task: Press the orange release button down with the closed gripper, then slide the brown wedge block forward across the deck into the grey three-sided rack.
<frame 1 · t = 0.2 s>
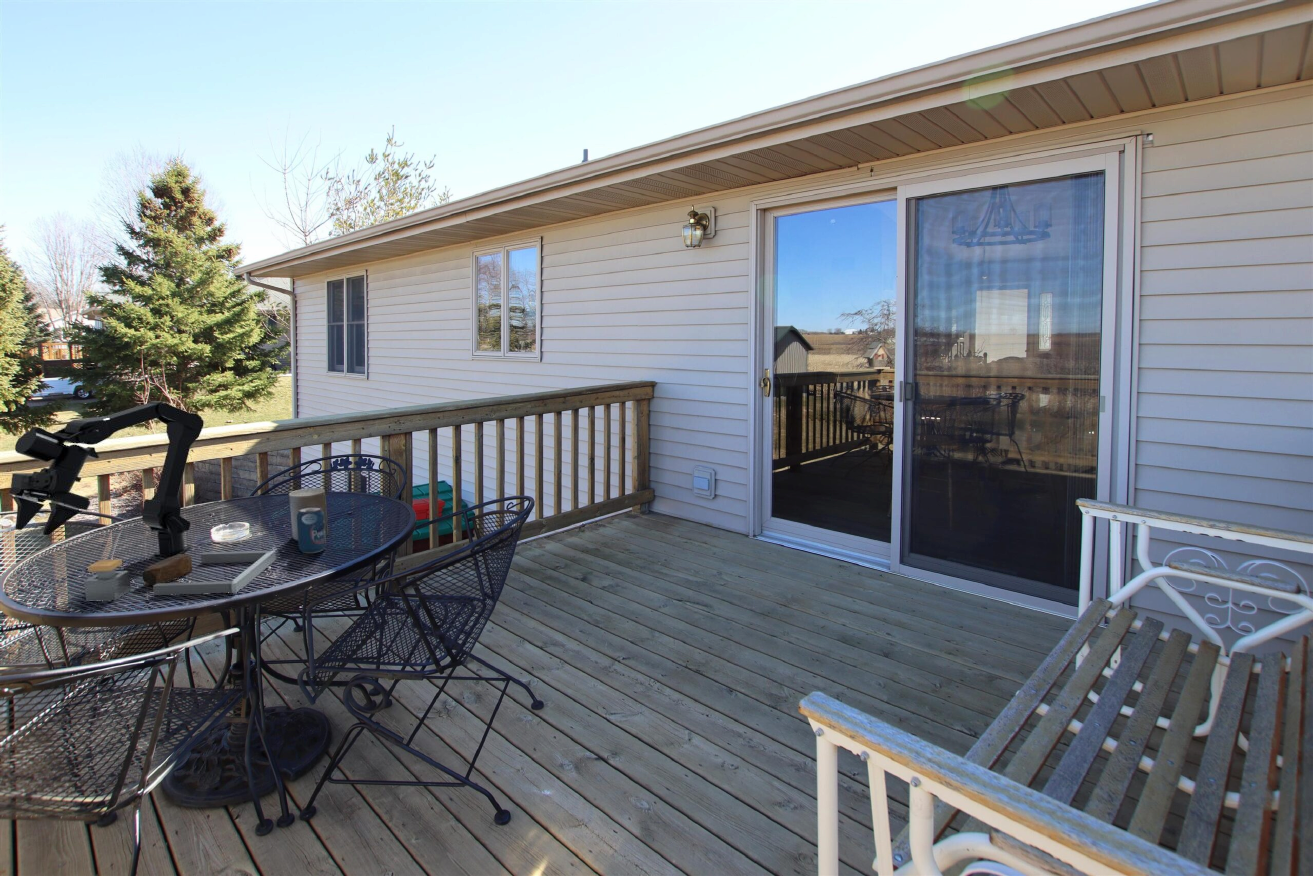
hand: (31, 532, 160), 15 cm above the table, tool tilted 30°, fingers open, 9 cm apart
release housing: (109, 596, 162), on the table
pillar candle: (310, 536, 208), on the table
rack: (215, 576, 175), on the table
brown wedge block: (168, 579, 173), on the table
soda can: (312, 550, 196), on the table
release button: (106, 573, 161), point 6 cm above the table, slide at 0.0 cm
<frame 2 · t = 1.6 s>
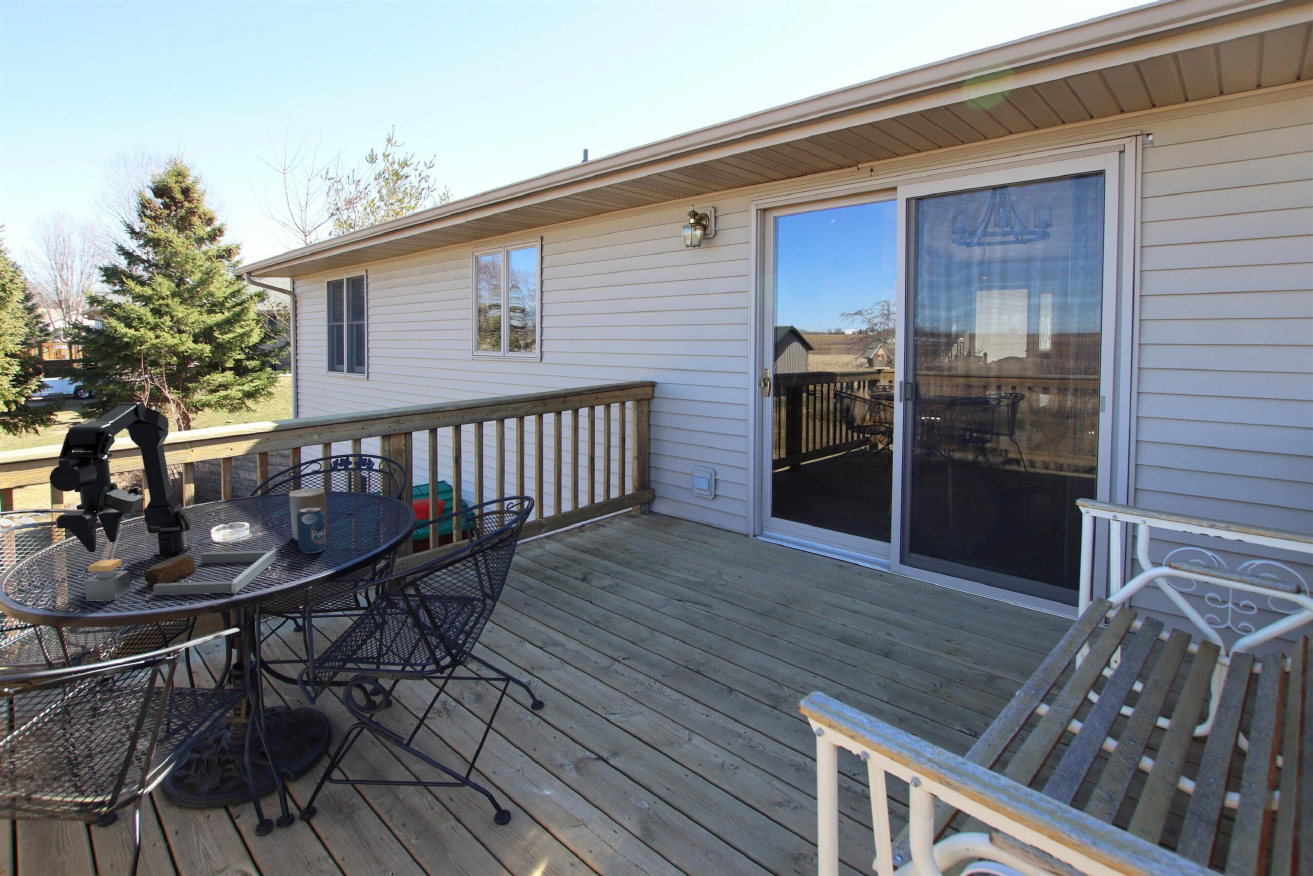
hand: (102, 546, 160), 12 cm above the table, tool pointing down, fingers open, 7 cm apart
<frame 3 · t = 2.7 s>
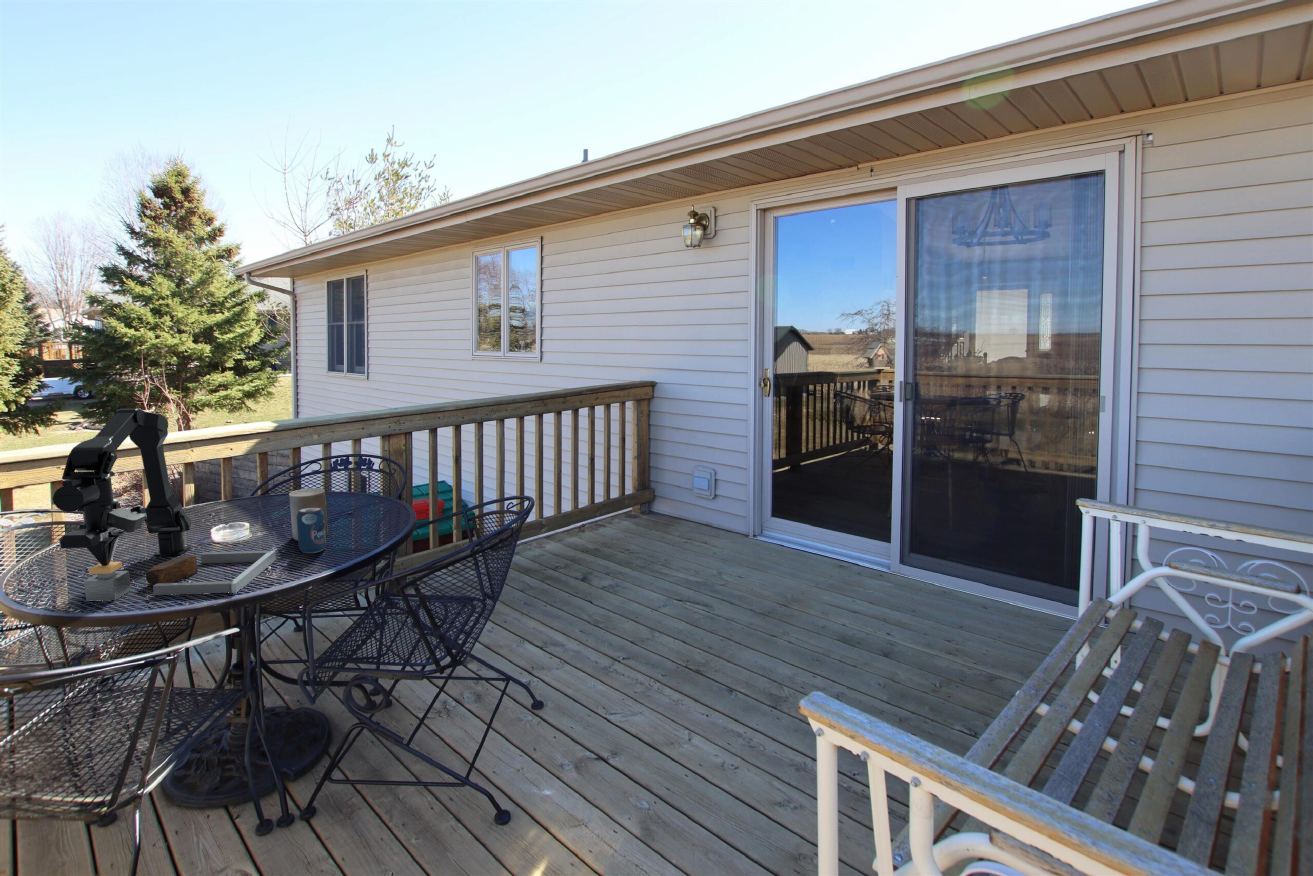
hand: (105, 565, 160), 8 cm above the table, tool pointing down, fingers closed, pressing on release button
release button: (106, 575, 161), point 5 cm above the table, slide at 0.6 cm, touching gripper
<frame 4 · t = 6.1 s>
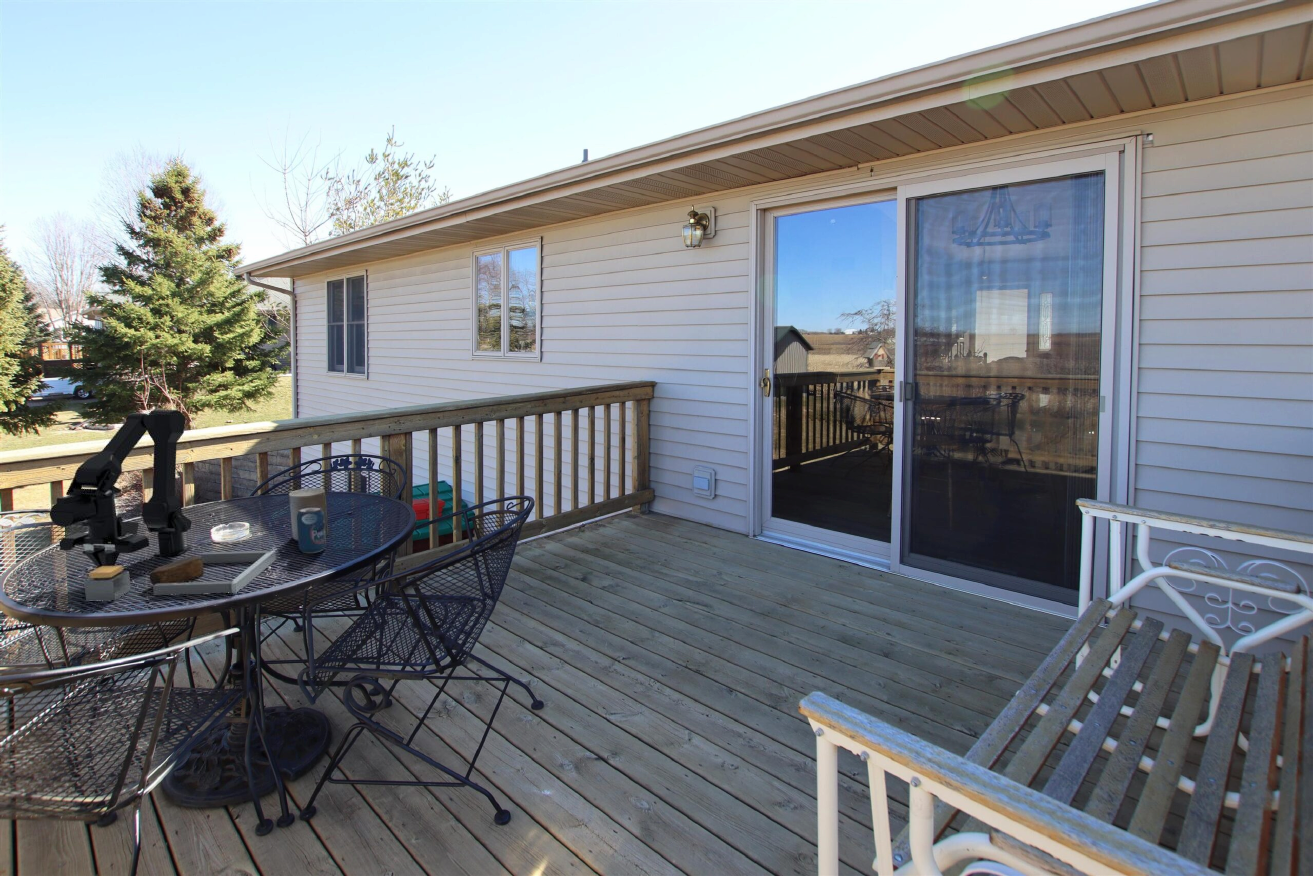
hand: (108, 575, 171), 1 cm above the table, tool pointing down, fingers closed
brown wedge block: (178, 582, 172), on the table
release button: (107, 579, 161), point 4 cm above the table, slide at 1.6 cm
everything else where it was.
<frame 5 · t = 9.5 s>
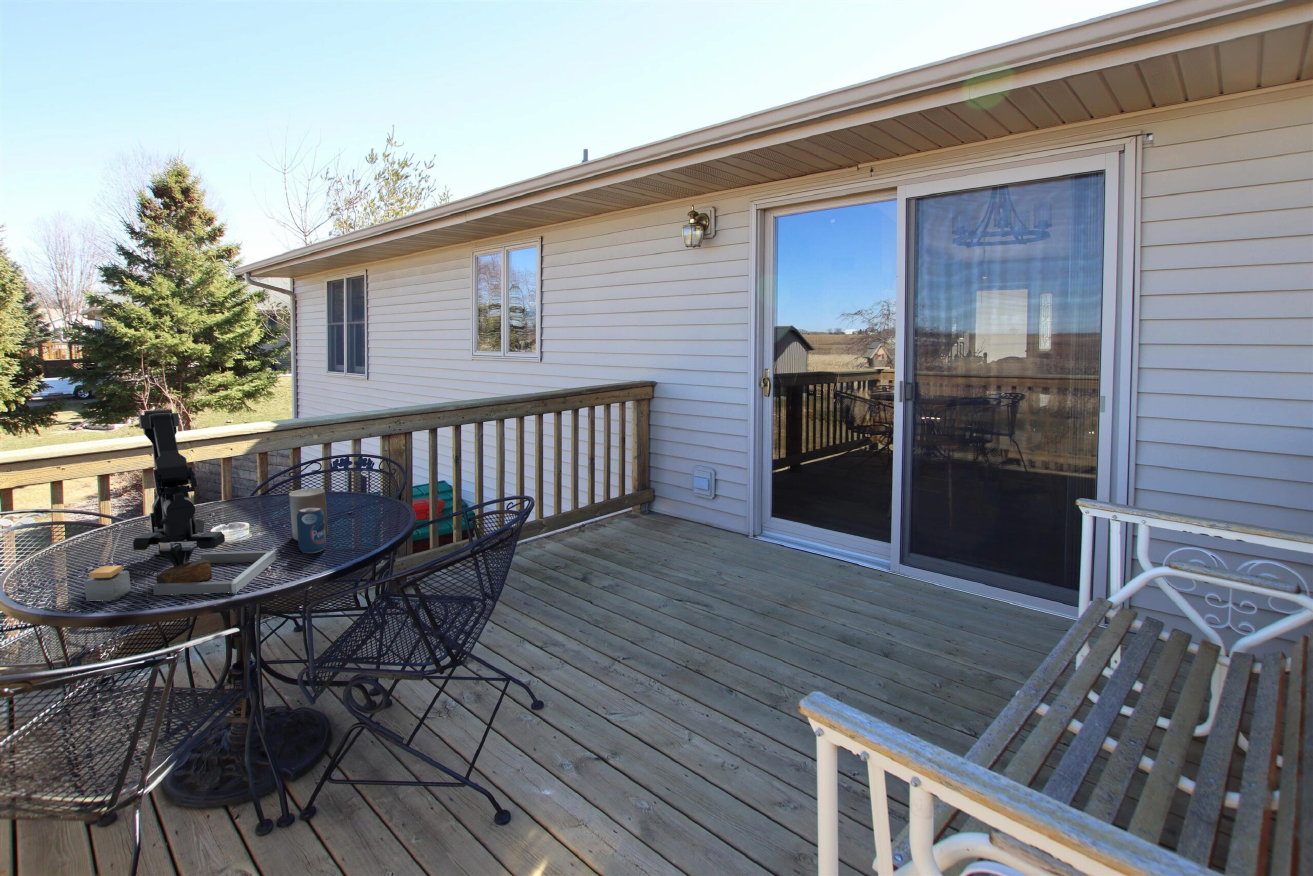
hand: (182, 573, 174), 1 cm above the table, tool pointing down, fingers closed
brown wedge block: (185, 584, 170), on the table, touching gripper
everything else where it was.
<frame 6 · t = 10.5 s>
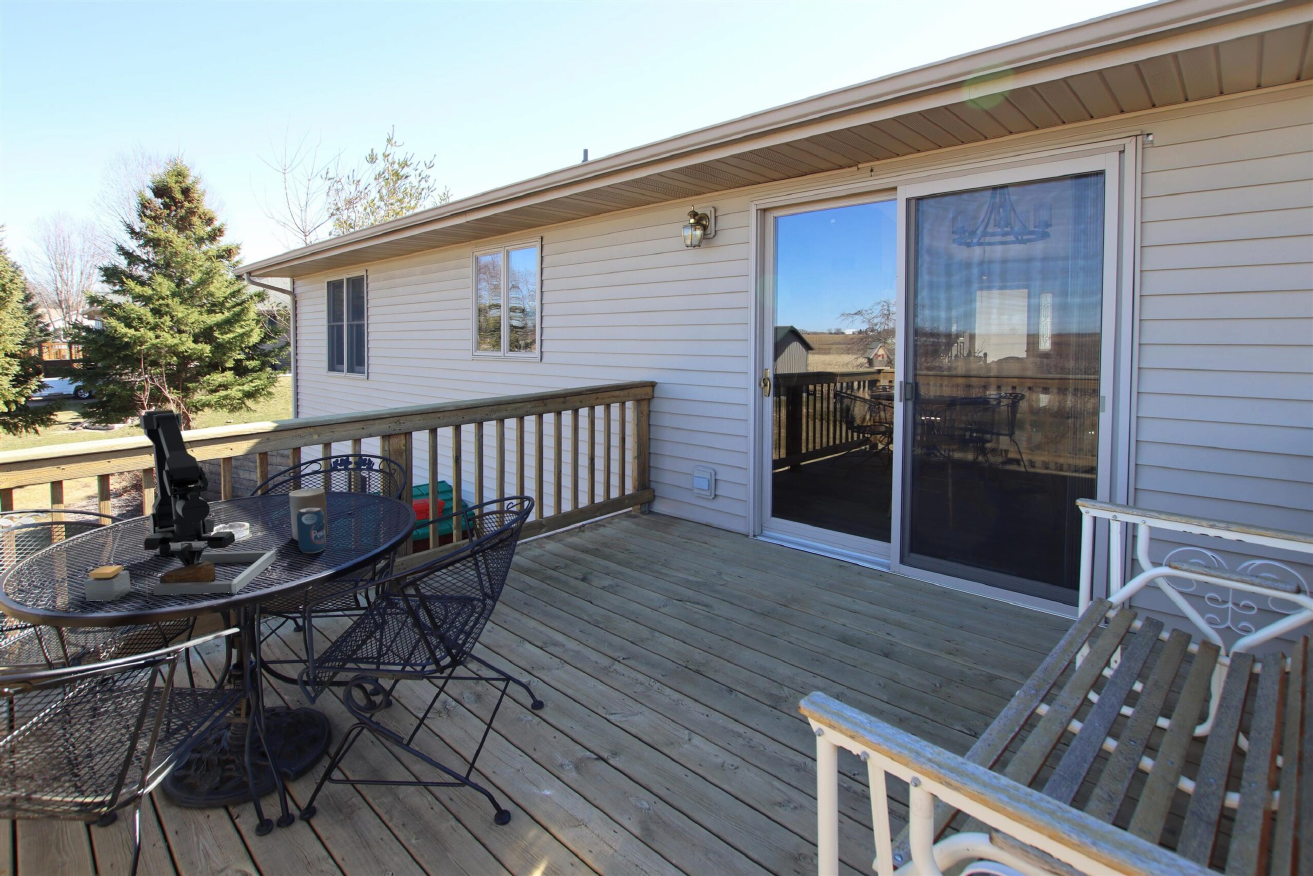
hand: (193, 573, 174), 1 cm above the table, tool pointing down, fingers closed
brown wedge block: (189, 586, 169), on the table
everything else where it was.
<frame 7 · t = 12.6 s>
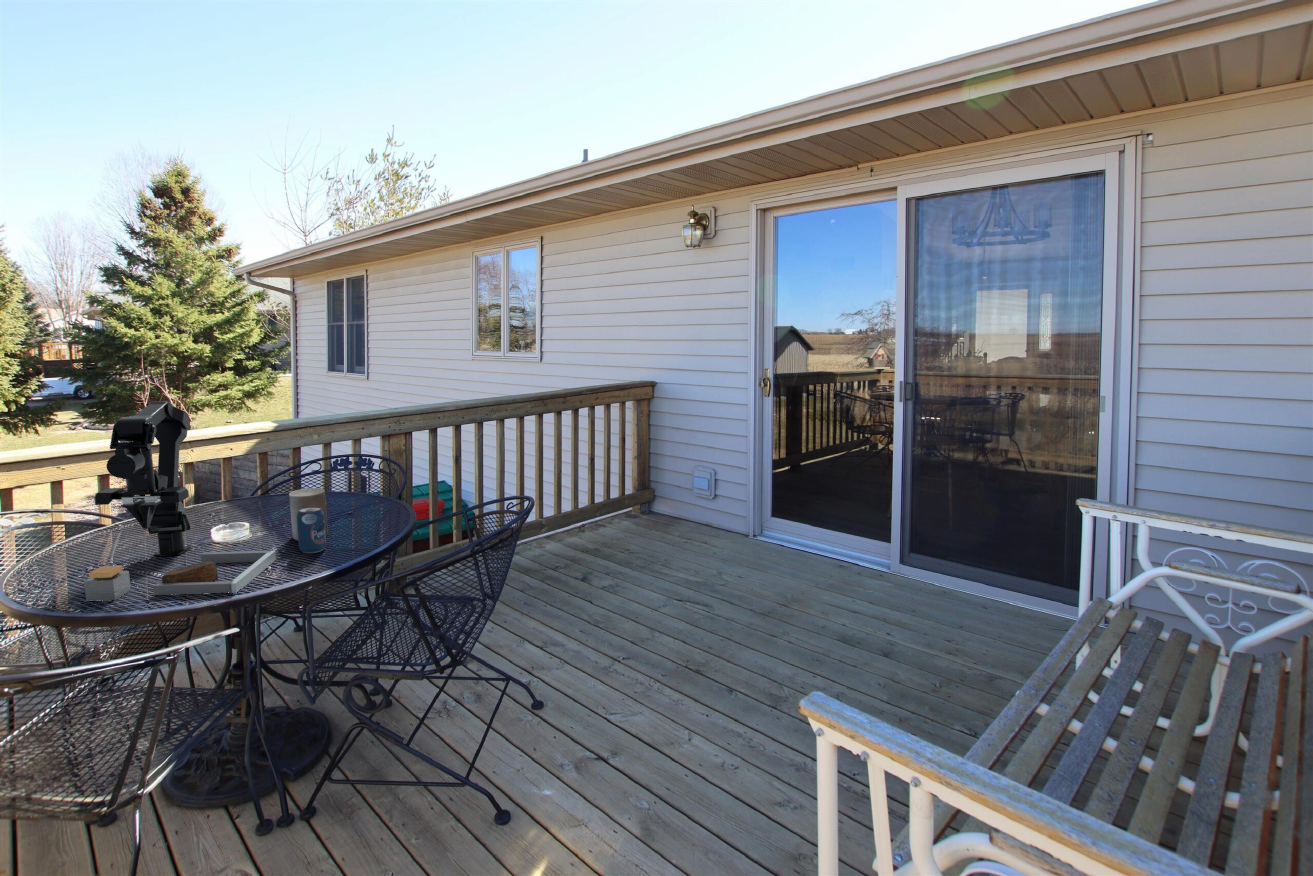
hand: (146, 528, 175), 12 cm above the table, tool pointing down, fingers closed
nothing on the table moved.
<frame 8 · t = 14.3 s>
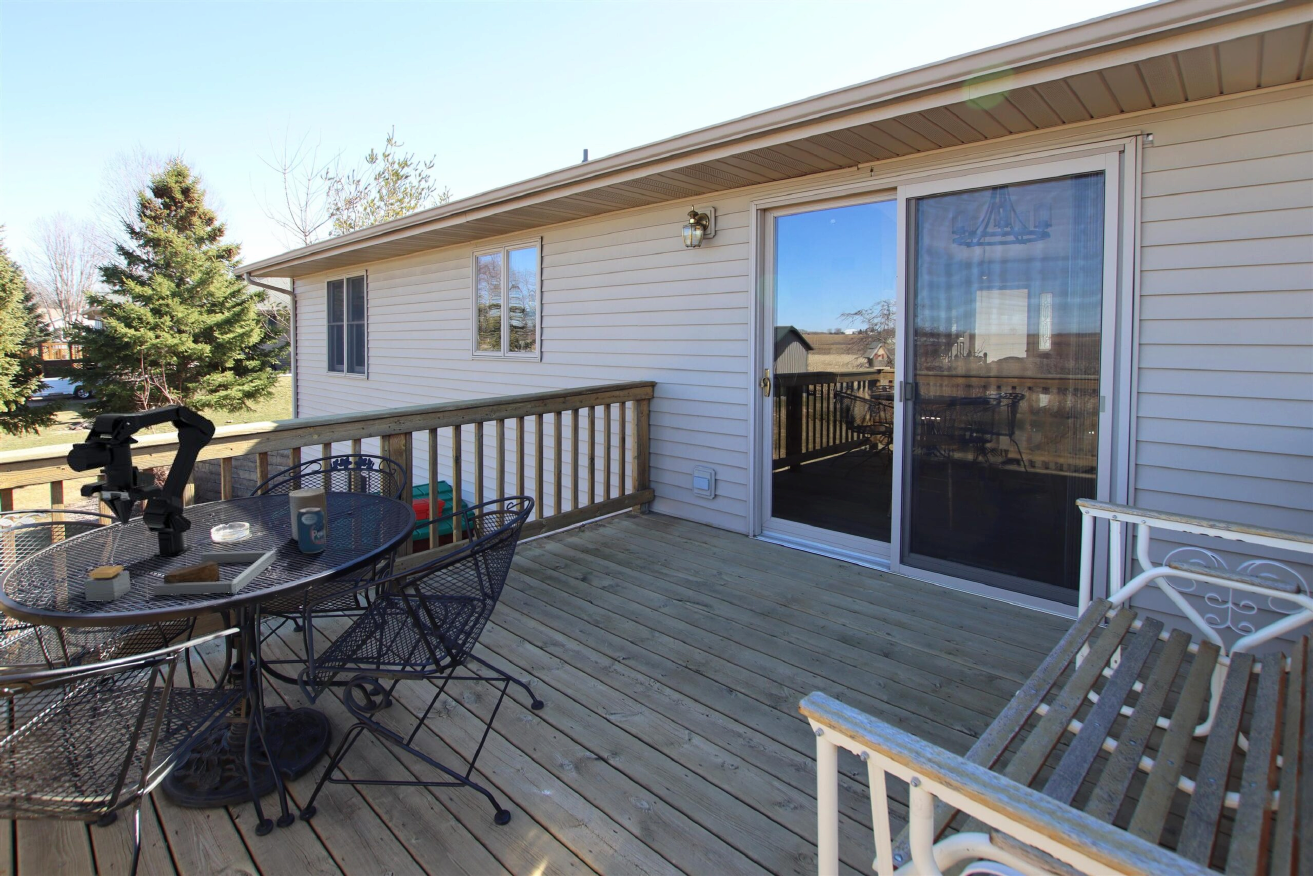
hand: (125, 523, 177), 12 cm above the table, tool pointing down, fingers closed
nothing on the table moved.
at the end: release button slide at 1.6 cm; brown wedge block inside the target area on the rack (6.6 cm from its centre), point 0.0 cm above the rack's base; brown wedge block moved 9.9 cm from its start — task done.
